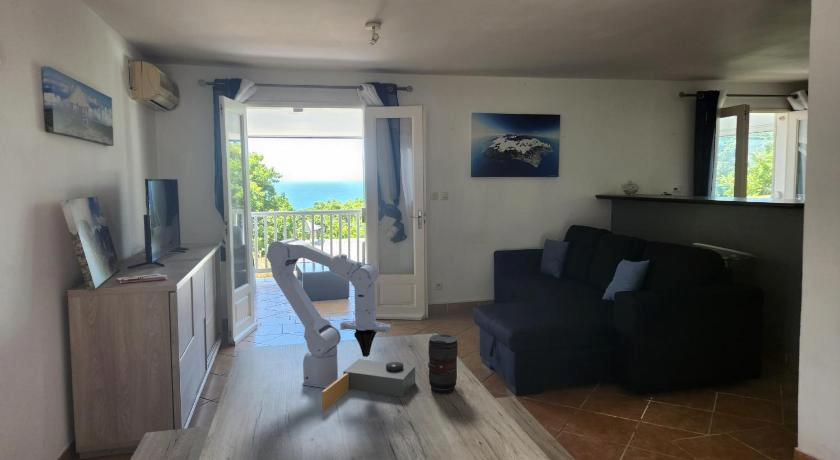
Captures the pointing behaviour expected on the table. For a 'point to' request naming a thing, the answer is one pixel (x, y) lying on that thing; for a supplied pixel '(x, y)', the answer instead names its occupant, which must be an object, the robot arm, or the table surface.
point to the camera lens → (443, 363)
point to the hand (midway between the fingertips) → (366, 355)
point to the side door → (335, 391)
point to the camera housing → (381, 377)
